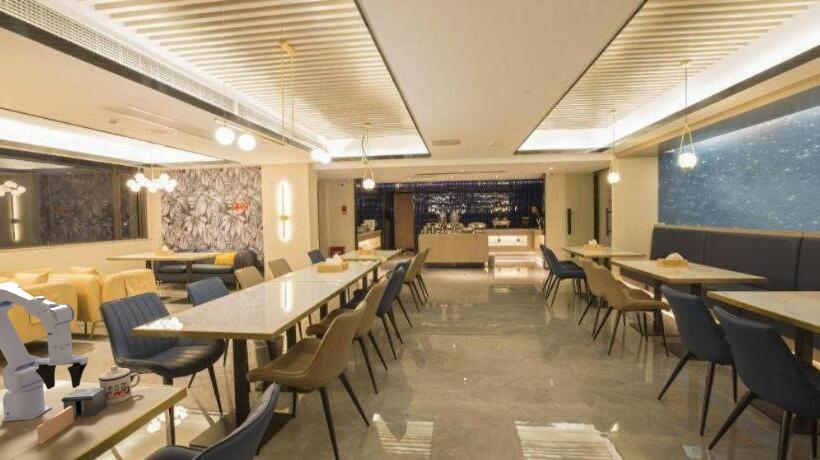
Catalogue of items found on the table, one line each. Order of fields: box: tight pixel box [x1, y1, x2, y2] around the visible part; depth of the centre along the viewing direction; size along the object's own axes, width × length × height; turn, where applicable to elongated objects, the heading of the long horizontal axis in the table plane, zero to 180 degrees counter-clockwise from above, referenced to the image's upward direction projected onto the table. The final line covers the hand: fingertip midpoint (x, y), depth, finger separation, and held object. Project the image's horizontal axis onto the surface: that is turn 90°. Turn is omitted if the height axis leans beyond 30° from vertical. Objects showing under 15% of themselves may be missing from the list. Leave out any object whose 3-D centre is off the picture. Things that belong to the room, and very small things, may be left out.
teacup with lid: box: [98, 364, 141, 406], centre depth 145 cm, size 12×9×12 cm
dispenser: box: [61, 387, 108, 418], centre depth 135 cm, size 9×7×7 cm
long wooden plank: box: [36, 406, 75, 445], centre depth 123 cm, size 1×12×5 cm, turn 3°
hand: (63, 387), depth 131 cm, fingers open, 7 cm apart
